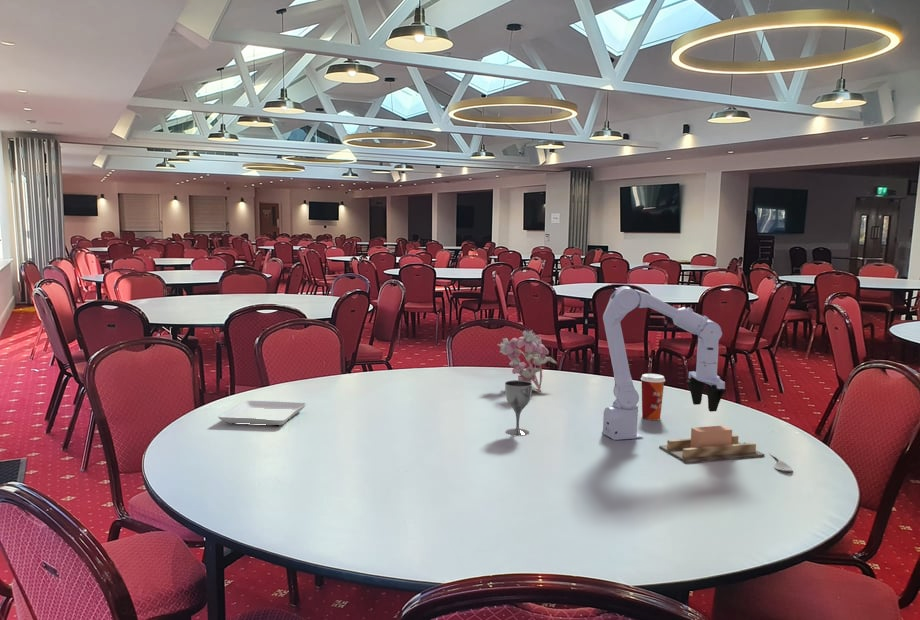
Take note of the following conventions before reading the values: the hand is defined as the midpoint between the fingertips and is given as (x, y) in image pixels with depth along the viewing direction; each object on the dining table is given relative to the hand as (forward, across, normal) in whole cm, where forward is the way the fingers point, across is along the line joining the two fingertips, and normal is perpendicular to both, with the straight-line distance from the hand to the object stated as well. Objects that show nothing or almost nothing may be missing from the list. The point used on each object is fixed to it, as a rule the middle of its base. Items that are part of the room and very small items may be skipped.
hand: (704, 407), depth 189 cm
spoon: (+10, -21, -8) cm, 24 cm away
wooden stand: (+9, -11, +5) cm, 15 cm away
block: (+9, -11, +5) cm, 15 cm away
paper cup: (+10, +23, +3) cm, 25 cm away
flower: (+10, +72, +29) cm, 78 cm away
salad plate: (+10, +49, +126) cm, 135 cm away
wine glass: (+10, +18, +51) cm, 55 cm away
